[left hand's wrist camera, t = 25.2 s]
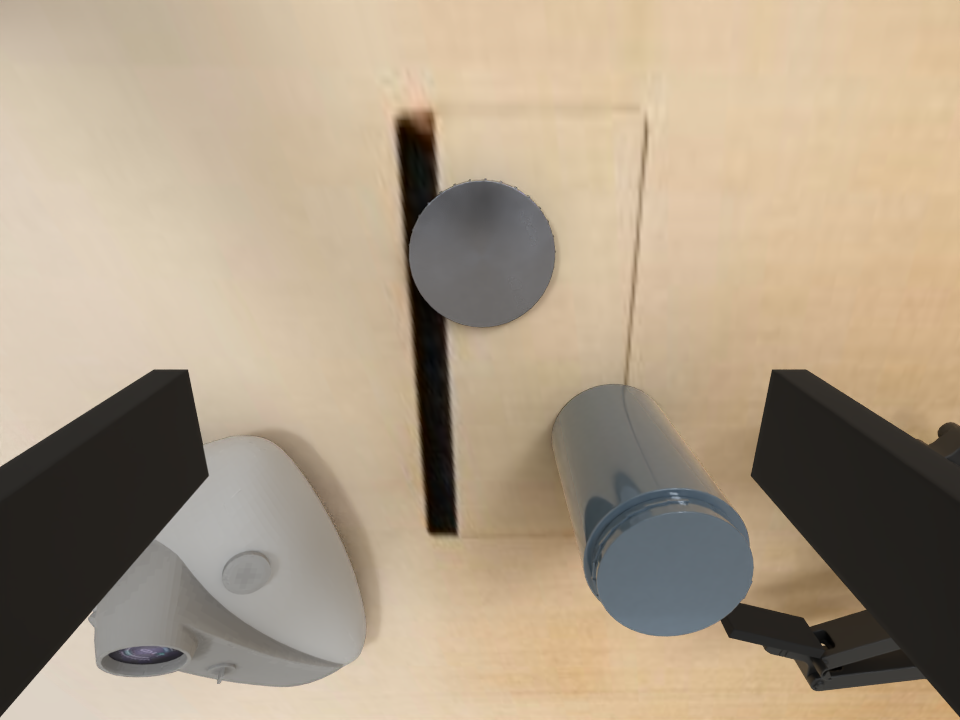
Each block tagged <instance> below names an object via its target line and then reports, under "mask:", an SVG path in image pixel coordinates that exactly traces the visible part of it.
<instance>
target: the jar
mask: <svg viewBox="0 0 960 720" xmlns="http://www.w3.org/2000/svg"><path fill="white" fill-rule="evenodd" d="M552 448H553V453H554V457H555V461H556V464H557V468H558V472H559V476H560V480H561V484H562V488H563V492H564V496H565V500H566V504H567V508H568V512H569V516H570V520H571V524H572V528H573V531H574V535H575V539H576V543H577V547H578V551H579V555H580V559H581V563H582V567H583V571H584V575H585V578H586V581H587V583H588V586H589V587H590V589H591V591H592V593H593V594H594V595H595V596H596V598H597V599H598V600H599V601H600V602H601V603H602V605H603V606H604V608H605V609H606V611H607V612H608V613H609V614H610V615H611V616H612V617H613V618H614V619H615V620H616V621H618V622H619V623H621V624H622V625H623V626H625V627H627V628H629V629H631V630H634V631H637V632H639V633H643V634H647V635H654V636H678V635H684V634H689V633H693V632H696V631H699V630H702V629H704V628H707V627H709V626H711V625H713V624H715V623H716V622H718V621H720V620H721V619H723V618H724V617H725V616H727V615H728V614H729V613H730V612H732V611H733V610H734V609H735V608H736V607H737V605H738V604H739V603H740V602H741V600H742V599H744V598H745V596H746V594H747V592H748V590H749V588H750V586H751V584H752V576H753V568H754V567H753V557H752V552H751V549H750V544H749V536H748V532H747V529H746V527H745V524H744V522H743V520H742V519H741V517H740V516H739V514H738V513H737V512H736V510H735V509H734V507H733V506H732V505H731V503H730V502H729V501H728V499H727V498H726V497H725V495H724V494H723V493H722V491H721V490H720V488H719V487H718V486H717V484H716V483H715V482H714V480H713V479H712V478H711V476H710V475H709V474H708V472H707V471H706V469H705V468H704V467H703V465H702V464H701V463H700V461H699V460H698V459H697V457H696V456H695V454H694V453H693V452H692V450H691V449H690V448H689V446H688V445H687V444H686V442H685V441H684V440H683V438H682V437H681V435H680V434H679V433H678V431H677V430H676V429H675V427H674V426H673V425H672V423H671V422H670V421H669V419H668V418H667V416H666V415H665V414H664V412H663V411H662V410H661V408H660V407H659V406H658V404H657V403H656V402H655V401H654V400H653V399H652V398H651V397H650V396H649V395H647V394H646V393H644V392H643V391H641V390H638V389H636V388H634V387H630V386H626V385H619V384H609V385H601V386H597V387H594V388H591V389H588V390H586V391H584V392H582V393H580V394H579V395H577V396H575V397H574V398H573V399H572V400H570V401H569V402H568V403H567V404H566V405H565V406H564V408H563V409H562V410H561V412H560V413H559V415H558V417H557V419H556V421H555V424H554V427H553V431H552Z"/></svg>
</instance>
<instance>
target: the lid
mask: <svg viewBox="0 0 960 720" xmlns="http://www.w3.org/2000/svg"><path fill="white" fill-rule="evenodd" d="M439 193H440V194H439V195H438V196H436V197H435V198H434V199H433V200H432V201H429V202H428V205H427V206H426V208H425V209H424V210H423V212H422V213H421V214H419V218H418V220H417V222H416V224H415V226H414V228H413V229H412V231H413V232H412V235H411V240H410V244H409V261H410V268H411V272H412V276H413V279H414V281H415V284H416V286H417V288H418V290H419V292H420V293H421V295H422V296H423V298H424V299H425V300H426V301H427V302H428V304H429V305H430V306H431V307H432V308H433V309H435V310H436V311H437V312H438V313H440V314H441V315H443V316H444V317H446V318H448V319H450V320H452V321H454V322H457V323H459V324H462V325H467V326H472V327H492V326H497V325H501V324H505V323H508V322H510V321H512V320H514V319H516V318H518V317H520V316H521V315H523V314H524V313H526V312H527V311H528V310H529V309H531V308H532V307H533V306H534V305H535V304H536V303H537V301H538V300H539V299H540V297H541V296H542V295H543V293H544V292H545V290H546V288H547V286H548V284H549V282H550V279H551V276H552V272H553V269H554V262H555V246H554V239H553V237H554V236H553V235H552V231H551V228H550V226H549V224H548V222H549V221H548V220H547V219H546V218H545V216H544V214H543V212H542V211H541V210H540V209H541V208H540V207H539V206H537V205H536V204H535V203H534V202H533V201H532V200H531V199H530V196H529V195H527V196H526V195H525V194H524V193H522V192H521V191H519V190H518V189H517V187H512V186H510V185H507V184H505V183H502V181H500V182H497V181H493V180H486V178H485V180H472V181H471V179H469V181H467V182H463V183H460V184H457V185H456V184H454V186H452V187H450V188H448V189H446V190H445V191H443V192H442V191H441V192H439Z"/></svg>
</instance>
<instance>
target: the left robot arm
mask: <svg viewBox="0 0 960 720" xmlns="http://www.w3.org/2000/svg"><path fill="white" fill-rule="evenodd" d="M208 477H209V473H208V468H207V463H206V458H205V453H204V448H203V443H202V438H201V433H200V428H199V423H198V418H197V413H196V408H195V403H194V398H193V393H192V388H191V383H190V378H189V373H188V370H152V371H151V372H149V373H148V374H146V375H145V376H143V377H141V378H140V379H138V380H137V381H135V382H134V383H132V384H130V385H129V386H127V387H126V388H124V389H122V390H121V391H119V392H118V393H116V394H115V395H113V396H111V397H110V398H108V399H107V400H105V401H104V402H102V403H100V404H99V405H97V406H96V407H94V408H92V409H91V410H89V411H88V412H86V413H85V414H83V415H81V416H80V417H78V418H77V419H75V420H74V421H72V422H70V423H69V424H67V425H66V426H64V427H62V428H61V429H59V430H58V431H56V432H55V433H53V434H51V435H50V436H48V437H47V438H45V439H44V440H42V441H40V442H39V443H37V444H36V445H34V446H32V447H31V448H29V449H28V450H26V451H25V452H23V453H21V454H20V455H18V456H17V457H15V458H14V459H12V460H10V461H9V462H7V463H6V464H4V465H3V466H1V467H0V717H1V716H2V714H3V713H4V712H5V711H6V710H7V709H8V707H9V706H10V705H11V704H12V703H13V702H14V701H15V699H16V698H17V697H18V696H19V695H20V694H21V692H22V691H23V690H24V689H25V688H26V687H27V686H28V684H29V683H30V682H31V681H32V680H33V679H34V677H35V676H36V675H37V674H38V673H39V672H40V671H41V669H42V668H43V667H44V666H45V665H46V664H47V662H48V661H49V660H50V659H51V658H52V657H53V656H54V654H55V653H56V652H57V651H58V650H59V649H60V647H61V646H62V645H63V644H64V643H65V642H66V641H67V639H68V638H69V637H70V636H71V635H72V634H73V632H74V631H75V630H76V629H77V628H78V627H79V626H80V624H81V623H82V622H83V621H84V620H85V619H86V617H87V616H88V615H89V614H90V613H91V612H92V611H93V609H94V608H95V607H96V606H97V605H98V604H99V602H100V601H101V600H102V599H103V598H104V597H105V595H106V594H107V593H108V592H109V591H110V590H111V589H112V587H113V586H114V585H115V584H116V583H117V582H118V580H119V579H120V578H121V577H122V576H123V575H124V574H125V572H126V571H127V570H128V569H129V568H130V567H131V565H132V564H133V563H134V562H135V561H136V560H137V559H138V557H139V556H140V555H141V554H142V553H143V552H144V550H145V549H146V548H147V547H148V546H149V545H150V544H151V542H152V541H153V540H154V539H155V538H156V537H157V535H158V534H159V533H160V532H161V531H162V530H163V529H164V527H165V526H166V525H167V524H168V523H169V522H170V520H171V519H172V518H173V517H174V516H175V515H176V513H177V512H178V511H179V510H180V509H181V508H182V507H183V505H184V504H185V503H186V502H187V501H188V500H189V498H190V497H191V496H192V495H193V494H194V493H195V492H196V490H197V489H198V488H199V487H200V486H201V485H202V483H203V482H204V481H205V480H206V479H207V478H208ZM751 477H752V478H753V479H754V480H755V481H756V482H757V483H758V485H759V486H760V487H761V488H762V489H763V490H764V492H765V493H766V494H767V495H768V496H769V497H770V498H771V500H772V501H773V502H774V503H775V504H776V505H777V507H778V508H779V509H780V510H781V511H782V512H783V513H784V515H785V516H786V517H787V518H788V519H789V520H790V522H791V523H792V524H793V525H794V526H795V527H796V529H797V530H798V531H799V532H800V533H801V534H802V535H803V537H804V538H805V539H806V540H807V541H808V542H809V544H810V545H811V546H812V547H813V548H814V549H815V550H816V552H817V553H818V554H819V555H820V556H821V557H822V559H823V560H824V561H825V562H826V563H827V564H828V565H829V567H830V568H831V569H832V570H833V571H834V572H835V574H836V575H837V576H838V577H839V578H840V579H841V580H842V582H843V583H844V584H845V585H846V586H847V587H848V589H849V590H850V591H851V592H852V593H853V594H854V595H855V597H856V598H857V599H858V600H859V601H860V602H861V604H862V605H863V606H864V607H865V608H866V609H867V611H868V612H869V613H870V614H871V615H872V616H873V617H874V619H875V620H876V621H877V622H878V623H879V624H880V626H881V627H882V628H883V629H884V630H885V631H886V632H887V634H888V635H889V636H890V637H891V638H892V639H893V641H894V642H895V643H896V644H897V645H898V646H899V647H900V649H901V650H902V651H903V652H904V653H905V654H906V656H907V657H908V658H909V659H910V660H911V661H912V662H913V664H914V665H915V666H916V667H917V668H918V669H919V671H920V672H921V673H922V674H923V675H924V676H925V677H926V679H927V680H928V681H929V682H930V683H931V684H932V686H933V687H934V688H935V689H936V690H937V691H938V693H939V694H940V695H941V696H942V697H943V698H944V699H945V701H946V702H947V703H948V704H949V705H950V706H951V708H952V709H953V710H954V711H955V712H956V713H957V714H958V716H959V717H960V467H959V466H957V465H956V464H954V463H953V462H951V461H950V460H948V459H946V458H945V457H943V456H942V455H940V454H939V453H937V452H935V451H934V450H932V449H931V448H929V447H927V446H926V445H924V444H923V443H921V442H920V441H918V440H916V439H915V438H913V437H912V436H910V435H909V434H907V433H905V432H904V431H902V430H901V429H899V428H898V427H896V426H894V425H893V424H891V423H890V422H888V421H886V420H885V419H883V418H882V417H880V416H879V415H877V414H875V413H874V412H872V411H871V410H869V409H868V408H866V407H864V406H863V405H861V404H860V403H858V402H856V401H855V400H853V399H852V398H850V397H849V396H847V395H845V394H844V393H842V392H841V391H839V390H838V389H836V388H834V387H833V386H831V385H830V384H828V383H826V382H825V381H823V380H822V379H820V378H819V377H817V376H815V375H814V374H812V373H811V372H809V371H808V370H772V373H771V378H770V383H769V388H768V393H767V398H766V403H765V408H764V413H763V418H762V423H761V428H760V433H759V438H758V443H757V448H756V453H755V458H754V463H753V468H752V473H751Z"/></svg>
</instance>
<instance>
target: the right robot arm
mask: <svg viewBox="0 0 960 720" xmlns="http://www.w3.org/2000/svg"><path fill="white" fill-rule="evenodd" d="M938 437H939V438H938V439H937V440H936V441H935V442H933V443H931V444H929V445H927V444H926V443H924V442H923V441H921V440H919V439H916V440H918V441H920V442H921V443H923V444H924V445H926V446H927V447H929V448H931V449H932V450H934V451H935V452H937V453H939V454H940V455H942V456H943V457H945V458H946V459H948V460H950V461H951V462H953V463H954V464H956V465H957V466H959V467H960V426H959V425H957V424H955V423H952V422H950V423H946V424H944V425H942V426H941V427H940V428H939V430H938ZM721 622H722V624H723V626H724V628H725V630H726V632H727V635H728V637H729V638H733V639H738V640H742V641H746V642H750V643H755V644H759V645H763V647H764V649H765V650H766V651H767V652H769V653H770V654H774V655H779V656H782V657H787V658H791V659H794V660H795V662H796V663H797V665H798V667H799V668H800V670H801V672H802V673H803V675H804V677H805V678H806V680H807V682H808V683H809V685H810V687H811V688H812V689H813V690H815V691H824V690H832V689H841V688H850V687H858V686H867V685H875V684H884V683H892V682H901V681H910V680H918V679H926V677H925V676H924V675H923V674H922V673H921V672H920V671H919V669H918V668H917V667H916V666H915V665H914V664H913V662H912V661H911V660H910V659H909V658H908V657H907V656H906V654H905V653H904V652H903V651H902V650H901V649H900V647H899V646H898V645H897V644H896V643H895V642H894V641H893V639H892V638H891V637H890V636H889V635H888V634H887V632H886V631H885V630H884V629H883V628H882V627H881V626H880V624H879V623H878V622H877V621H876V620H875V619H874V617H873V616H872V615H871V614H870V613H869V612H868V611H867V610H864V611H861V612H858V613H854V614H851V615H848V616H844V617H841V618H838V619H834V620H831V621H828V622H825V623H821V624H818V625H815V626H811V627H809V626H808V624H807V623H806V621H805V620H804V618H801V617H797V616H793V615H789V614H785V613H780V612H776V611H772V610H768V609H763V608H759V607H755V606H751V605H747V604H742V603H739V604H738V605H737V607H736V608H735V609H734V610H733V611H732V612H730V613H729V614H728V615H727V616H725V617H724V618H723V619H721ZM821 643H822V644H824V645H826V646H822V645H821Z"/></svg>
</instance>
